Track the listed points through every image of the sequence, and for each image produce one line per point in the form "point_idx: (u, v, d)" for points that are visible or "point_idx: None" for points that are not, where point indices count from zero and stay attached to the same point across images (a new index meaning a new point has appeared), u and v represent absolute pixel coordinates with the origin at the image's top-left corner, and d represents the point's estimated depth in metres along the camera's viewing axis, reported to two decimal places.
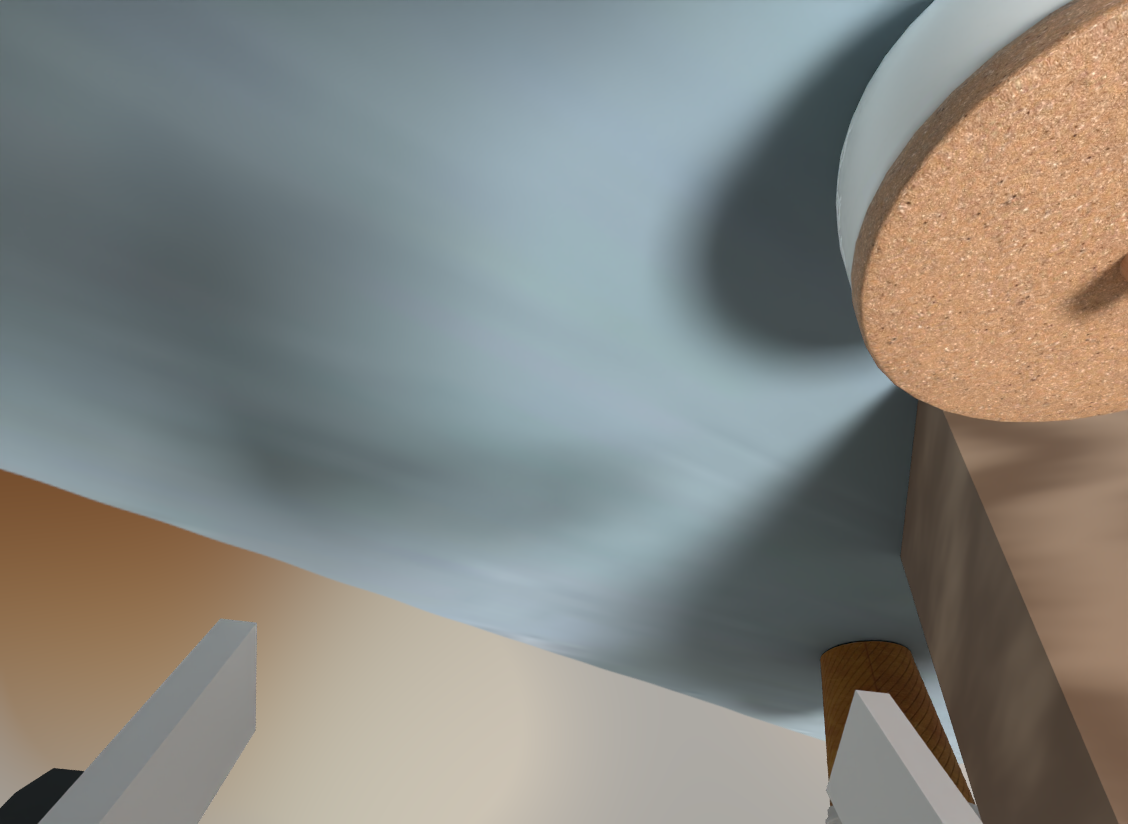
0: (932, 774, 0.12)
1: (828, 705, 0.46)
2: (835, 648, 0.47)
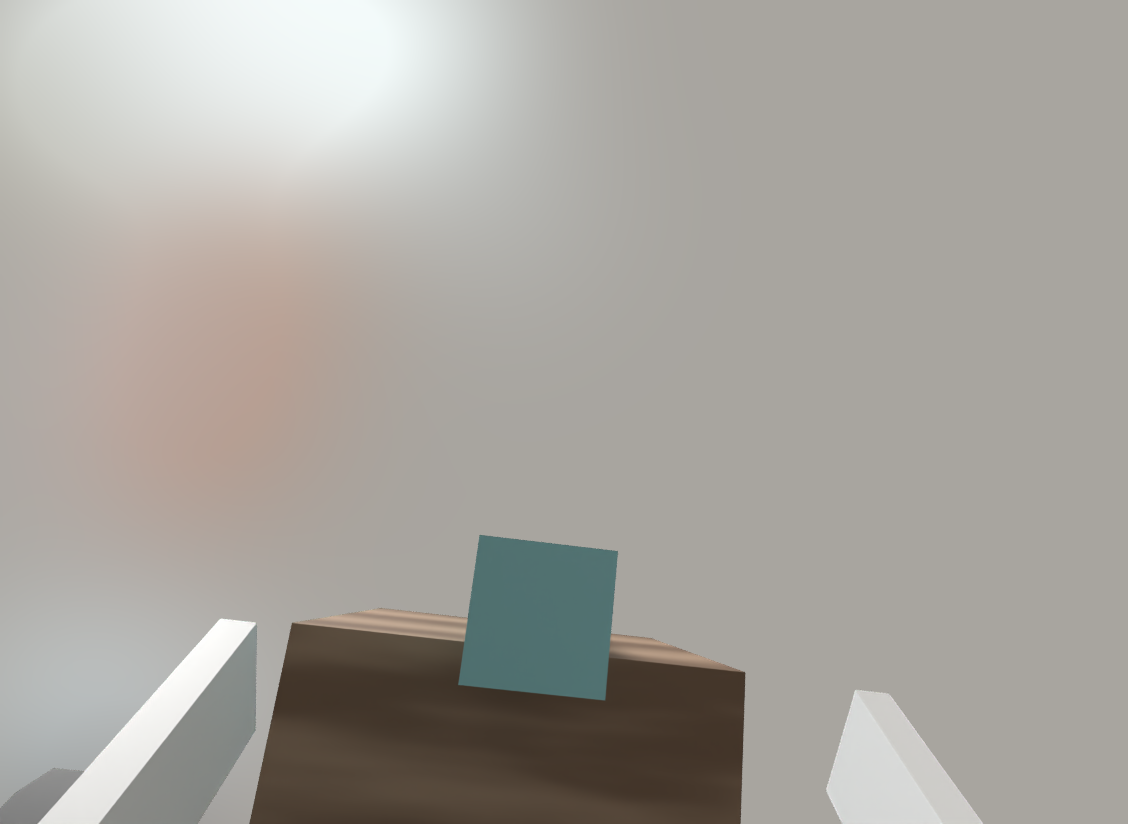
0: (932, 774, 0.12)
1: None
2: None
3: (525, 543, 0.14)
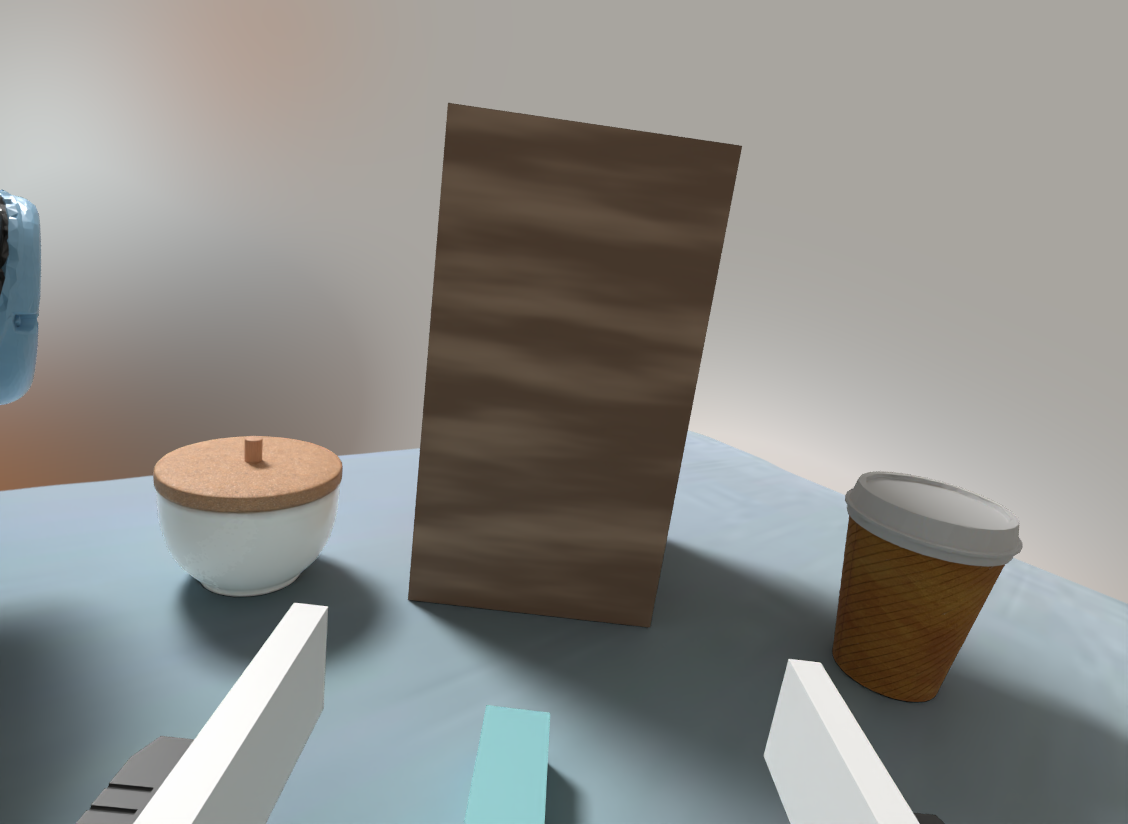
0: (849, 733, 0.13)
1: (905, 647, 0.38)
2: (862, 683, 0.40)
3: None
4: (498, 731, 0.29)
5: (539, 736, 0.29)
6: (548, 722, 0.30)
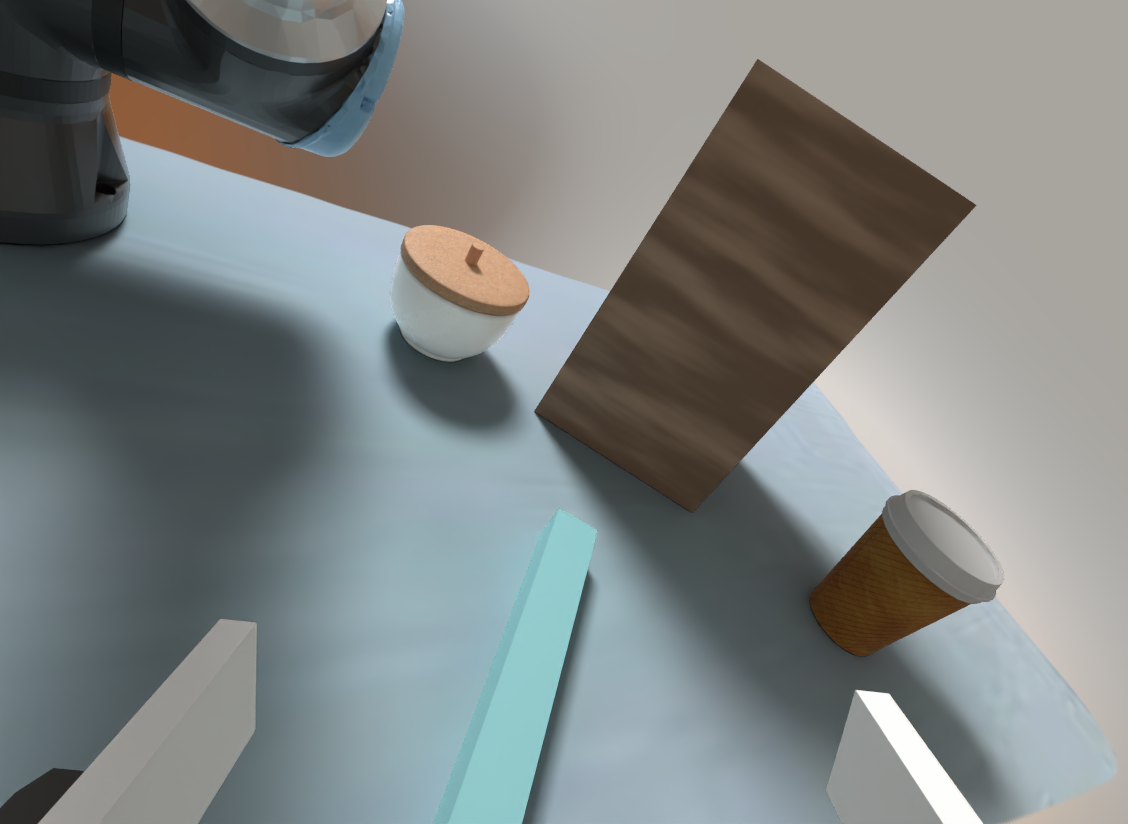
0: (932, 774, 0.12)
1: (865, 617, 0.49)
2: (820, 623, 0.52)
3: None
4: (564, 528, 0.42)
5: (588, 542, 0.42)
6: (595, 536, 0.43)
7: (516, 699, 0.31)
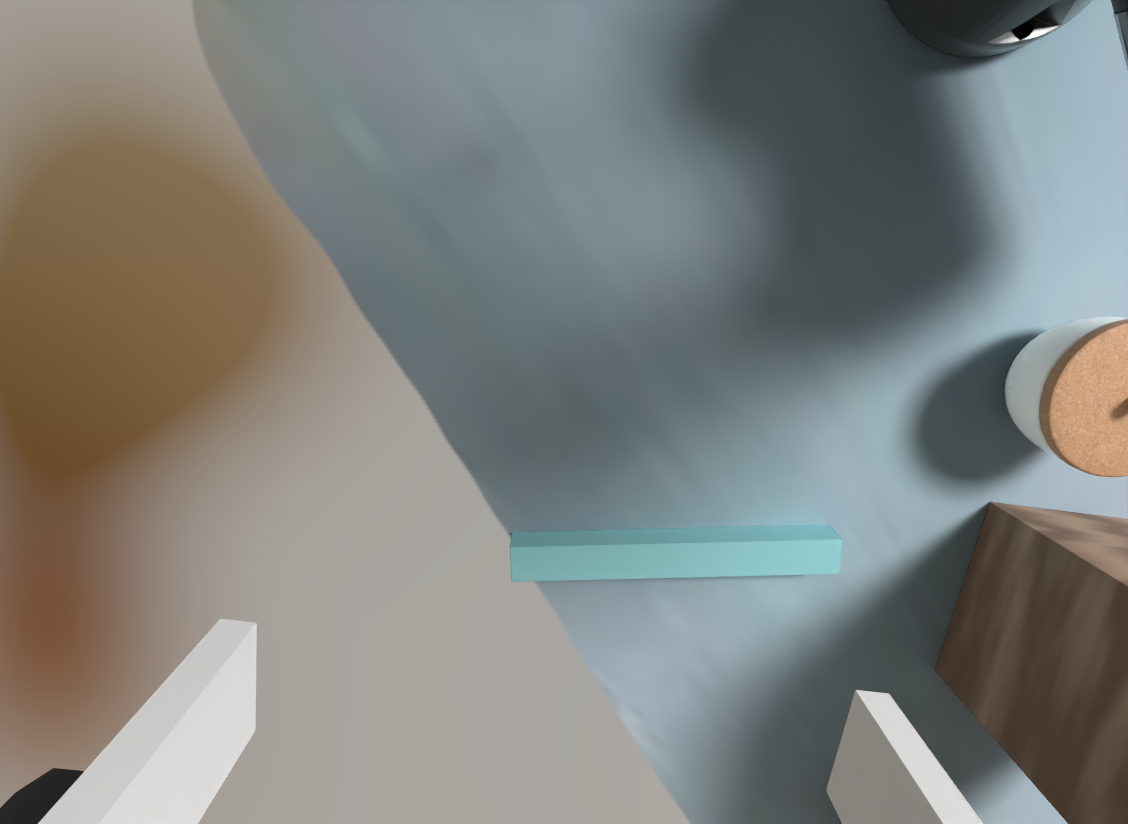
0: (932, 774, 0.12)
1: None
2: None
3: (510, 558, 0.51)
4: (822, 548, 0.51)
5: (820, 569, 0.51)
6: (831, 573, 0.51)
7: (661, 557, 0.51)
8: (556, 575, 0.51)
